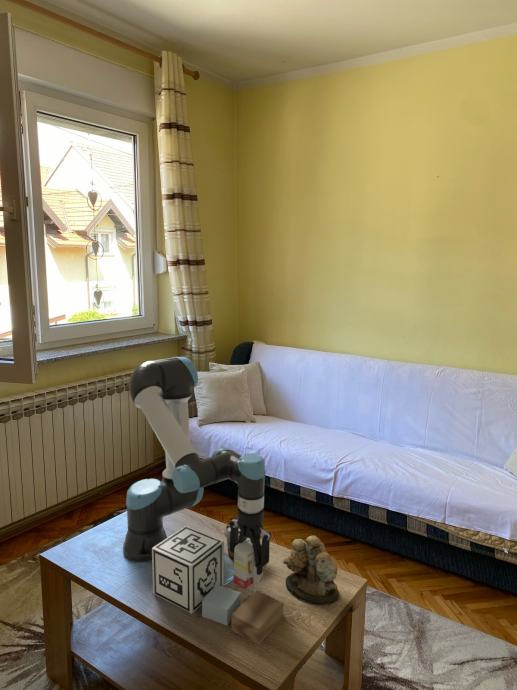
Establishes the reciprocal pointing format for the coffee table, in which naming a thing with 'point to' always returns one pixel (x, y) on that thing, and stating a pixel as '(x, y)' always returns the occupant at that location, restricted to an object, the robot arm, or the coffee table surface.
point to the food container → (227, 534)
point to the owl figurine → (311, 572)
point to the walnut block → (257, 617)
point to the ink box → (244, 564)
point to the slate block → (221, 604)
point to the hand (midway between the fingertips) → (248, 578)
